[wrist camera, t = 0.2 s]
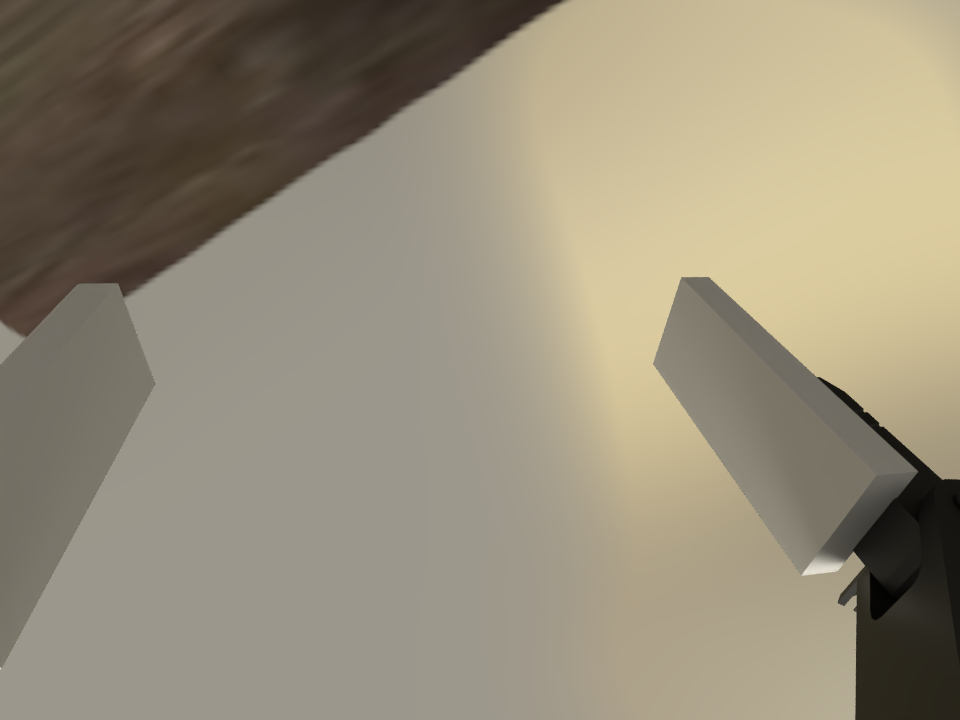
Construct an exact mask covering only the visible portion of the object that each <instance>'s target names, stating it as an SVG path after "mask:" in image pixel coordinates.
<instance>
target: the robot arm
mask: <svg viewBox="0 0 960 720" xmlns="http://www.w3.org/2000/svg"><path fill="white" fill-rule="evenodd" d="M653 364H654V366H655V367H656V369H657V370H658V371H659V373H660V374H661V376H662V377H663V379H664V380H665V382H666V383H667V384H668V386H669V387H670V389H671V390H672V392H673V393H674V394H675V396H676V397H677V399H678V400H679V401H680V403H681V405H682V406H683V407H684V409H685V410H686V412H687V413H688V414H689V416H690V417H691V419H692V420H693V422H694V423H695V424H696V426H697V427H698V429H699V430H700V432H701V433H702V434H703V436H704V437H705V439H706V440H707V442H708V443H709V445H710V446H711V447H712V449H713V450H714V452H715V453H716V455H717V456H718V457H719V459H720V460H721V462H722V463H723V465H724V466H725V467H726V469H727V470H728V472H729V473H730V475H731V476H732V477H733V479H734V480H735V482H736V483H737V484H738V486H739V487H740V489H741V490H742V492H743V493H744V495H745V496H746V497H747V499H748V500H749V502H750V503H751V504H752V506H753V507H754V509H755V510H756V512H757V513H758V514H759V516H760V517H761V519H762V520H763V522H764V523H765V525H766V526H767V527H768V529H769V530H770V532H771V533H772V535H773V536H774V538H775V539H776V540H777V542H778V543H779V545H780V546H781V548H782V549H783V550H784V551H785V553H786V555H787V556H788V558H789V559H790V560H791V562H792V563H793V565H794V566H795V567H796V569H797V570H798V572H799V573H800V575H810V574H819V573H828V572H836V571H837V570H839V568H840V567H841V566H842V565H843V563H844V562H845V561H846V560H847V559H848V557H849V556H850V555H851V554H852V552H853V551H854V552H855V553H856V555H857V556H858V557H859V558H860V560H861V561H862V562H863V563H864V565H865V567H864V568H863V569H862V570H861V571H860V572H859V574H858V575H857V576H856V577H855V578H854V579H853V581H852V582H851V583H850V584H849V585H848V586H847V588H846V589H845V590H844V591H843V592H842V593H841V595H840V597H839V600H838V603H839V604H841V605H843V606H845V604H846V603H847V602H848V601H849V600H850V599H851V597H852V596H855V595H857V606H856V607H855V608H854V611H855V612H857V625H856V627H857V628H856V634H857V635H856V714H855V715H856V716H855V720H960V480H957V479H956V480H955V479H954V480H953V479H951V480H950V479H944V480H942V479H941V478H940V477H939V476H937V475H936V474H935V473H934V472H933V471H932V470H931V469H930V468H929V467H927V466H926V465H925V464H924V463H923V462H922V461H921V460H920V459H919V458H917V457H916V456H915V455H914V454H913V453H912V452H911V451H910V450H909V449H907V448H906V447H905V446H904V445H903V444H902V443H901V442H900V441H899V440H897V439H896V438H895V437H894V436H893V435H892V434H891V433H890V432H888V430H886V429H885V428H884V427H880V426H879V422H878V421H876V420H875V419H874V418H873V417H872V416H871V415H870V414H869V413H868V412H864V411H863V408H862V407H861V406H859V404H858V403H857V402H855V401H854V400H853V399H852V398H851V397H850V396H849V395H848V394H846V393H845V392H844V391H842V390H841V389H839V388H837V387H836V386H834V385H832V384H831V383H829V382H827V381H825V380H824V379H822V378H820V377H816V376H815V375H814V374H812V373H811V372H810V371H809V370H808V369H807V368H806V367H805V366H804V365H803V364H802V363H801V362H799V360H797V359H796V358H795V357H794V356H793V355H792V354H791V353H790V352H789V351H788V350H786V348H784V347H783V346H782V345H781V344H780V343H779V342H778V341H777V340H776V339H775V338H774V337H773V336H772V335H770V334H769V333H768V332H767V331H766V330H765V329H764V328H763V327H762V326H761V325H760V324H759V323H758V322H756V321H755V320H754V319H753V318H752V317H751V316H750V315H749V314H748V313H746V311H745V310H743V309H742V308H741V307H740V306H739V305H738V304H737V303H736V302H735V301H734V300H733V299H732V298H731V297H729V296H728V295H727V294H726V293H725V292H724V291H723V290H722V289H721V288H720V287H719V286H718V285H716V284H715V283H714V282H713V281H712V280H711V279H710V278H709V277H686V278H685V277H682V278H681V280H680V283H679V286H678V290H677V292H676V296H675V299H674V302H673V305H672V308H671V311H670V314H669V317H668V320H667V323H666V326H665V329H664V333H663V335H662V338H661V341H660V345H659V348H658V351H657V354H656V357H655V360H654V363H653ZM154 385H155V381H154V379H153V376H152V374H151V371H150V368H149V365H148V363H147V360H146V357H145V355H144V352H143V349H142V347H141V344H140V341H139V339H138V336H137V334H136V331H135V328H134V325H133V323H132V320H131V317H130V315H129V312H128V310H127V307H126V304H125V301H124V299H123V296H122V293H121V291H120V288H119V285H118V283H110V284H77V286H76V287H75V288H74V289H73V290H72V291H71V292H70V293H69V294H68V295H67V296H66V297H65V298H64V299H63V300H62V301H61V302H60V303H59V304H58V305H57V306H56V307H55V308H54V310H53V311H52V312H51V313H50V314H49V315H48V316H47V317H46V318H45V319H44V320H43V321H42V322H41V323H40V324H39V325H38V326H37V327H36V328H35V329H34V330H33V331H32V332H31V334H30V335H29V336H28V337H27V338H26V339H25V340H24V341H23V342H22V343H21V344H20V345H19V346H18V347H17V348H16V349H15V350H14V351H13V352H12V354H10V355H9V357H8V358H7V359H6V360H5V361H4V362H3V363H2V364H1V365H0V669H2V667H3V665H4V663H5V661H6V659H7V658H8V656H9V654H10V652H11V650H12V648H13V647H14V645H15V643H16V641H17V639H18V637H19V635H20V634H21V632H22V630H23V628H24V626H25V624H26V622H27V621H28V619H29V617H30V615H31V613H32V611H33V609H34V608H35V606H36V604H37V602H38V600H39V598H40V596H41V594H42V593H43V591H44V589H45V587H46V585H47V584H48V582H49V580H50V578H51V576H52V574H53V572H54V571H55V569H56V567H57V565H58V563H59V561H60V559H61V558H62V556H63V554H64V552H65V550H66V548H67V546H68V545H69V543H70V541H71V539H72V537H73V535H74V534H75V532H76V530H77V528H78V526H79V524H80V522H81V520H82V519H83V517H84V515H85V513H86V511H87V509H88V508H89V506H90V504H91V502H92V500H93V498H94V496H95V495H96V493H97V491H98V489H99V487H100V485H101V483H102V481H103V480H104V478H105V476H106V474H107V472H108V470H109V469H110V467H111V465H112V463H113V461H114V459H115V458H116V455H117V454H118V452H119V450H120V448H121V446H122V445H123V443H124V441H125V439H126V437H127V435H128V433H129V432H130V430H131V428H132V426H133V424H134V422H135V420H136V419H137V417H138V415H139V413H140V411H141V409H142V407H143V406H144V404H145V402H146V400H147V398H148V396H149V395H150V392H151V391H152V389H153V387H154Z"/></svg>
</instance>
